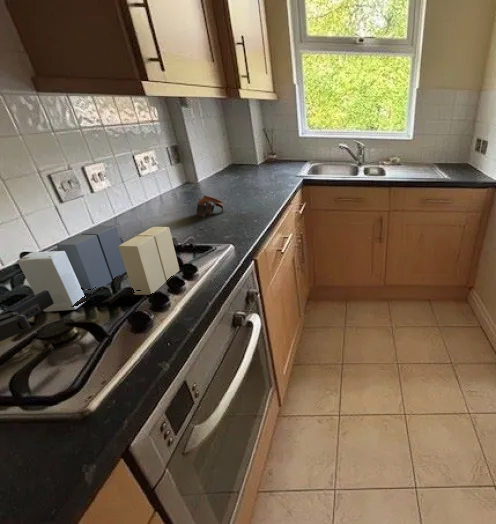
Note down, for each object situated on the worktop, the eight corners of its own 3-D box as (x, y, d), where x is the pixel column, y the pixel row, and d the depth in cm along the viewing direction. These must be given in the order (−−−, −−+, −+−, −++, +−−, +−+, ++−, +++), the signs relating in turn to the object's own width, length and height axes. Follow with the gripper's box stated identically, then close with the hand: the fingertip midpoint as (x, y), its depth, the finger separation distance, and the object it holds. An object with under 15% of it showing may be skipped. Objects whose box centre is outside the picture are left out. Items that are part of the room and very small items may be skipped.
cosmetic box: (87, 300, 73) (67, 249, 67) (74, 311, 69) (52, 258, 63) (55, 301, 72) (33, 250, 66) (40, 313, 68) (15, 259, 62)
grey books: (76, 293, 75) (56, 244, 70) (114, 268, 86) (99, 225, 81) (93, 293, 75) (75, 244, 70) (129, 269, 86) (116, 225, 81)
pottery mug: (193, 213, 132) (200, 194, 132) (218, 221, 137) (224, 202, 137) (195, 214, 122) (202, 192, 122) (222, 222, 127) (228, 202, 127)
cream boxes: (133, 294, 75) (118, 245, 70) (164, 270, 86) (152, 226, 81) (151, 294, 75) (137, 246, 70) (179, 270, 87) (169, 226, 81)
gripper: (-243, 406, 41) (-49, 312, 61) (-42, 410, 42) (87, 315, 61) (-293, 360, 38) (-71, 276, 58) (-75, 364, 39) (73, 279, 58)
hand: (11, 296), depth 59 cm, fingers open, 13 cm apart
